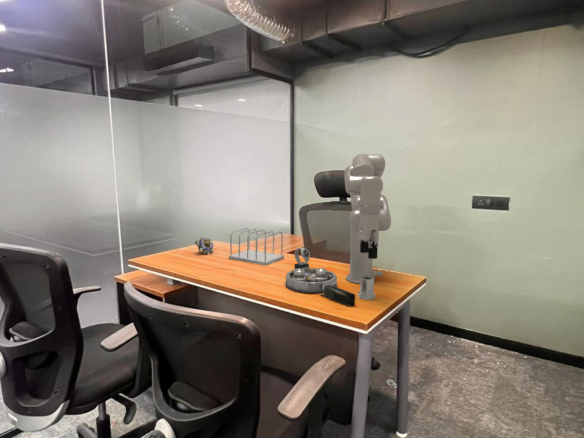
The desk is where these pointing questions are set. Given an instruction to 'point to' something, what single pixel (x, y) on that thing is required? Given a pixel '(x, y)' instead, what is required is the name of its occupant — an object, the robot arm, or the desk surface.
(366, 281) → the grey hollow tube
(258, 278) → the desk surface
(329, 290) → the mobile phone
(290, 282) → the ring gear
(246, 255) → the file sorter
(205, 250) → the passion flower
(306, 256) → the watch
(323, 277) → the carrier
